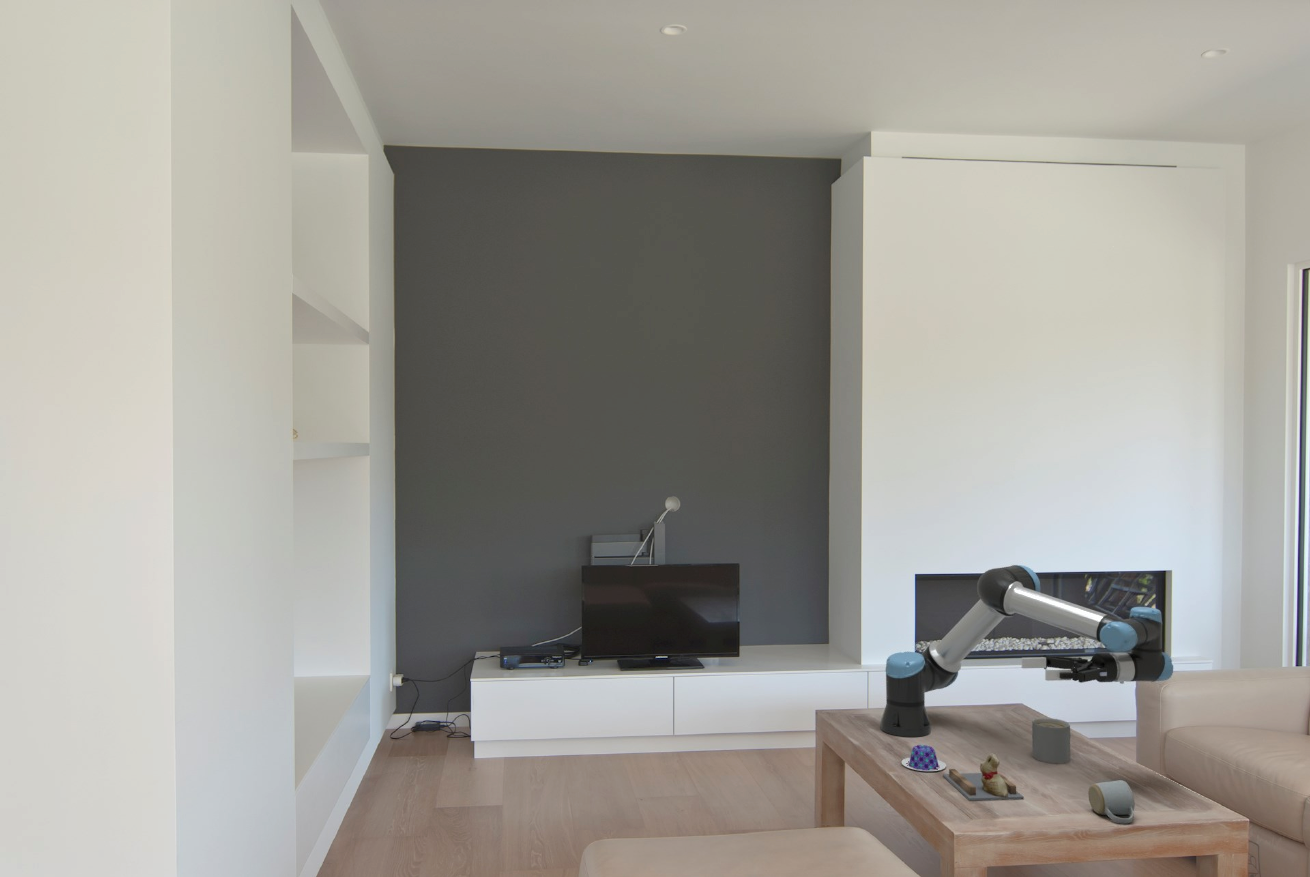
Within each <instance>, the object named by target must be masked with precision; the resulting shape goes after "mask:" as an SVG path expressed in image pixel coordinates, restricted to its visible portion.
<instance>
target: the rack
mask: <svg viewBox="0 0 1310 877" xmlns="http://www.w3.org/2000/svg"><path fill="white" fill-rule="evenodd" d="M997 773H998V775H999V776H1000V777H1002V779H1003V780H1004V781H1005V783H1006V786H1007V790H1008V793H1010V794H1016V791H1017V786H1016V784H1014V783H1013V782H1012V781H1011V780H1009V779H1008V778H1007V777H1006V776H1004V775H1003V774H1001V773H1000V772H999V771H998V770H997ZM948 774H949V777H950V778H951V779H953V780H954V781H955V782H956V783H957V784H958V785H959V786H960V787H961V788H963V789H964V790H965V791H966V792H967V793H968V794H969V795H976V787H975V786H974V785H973V784H972V783H970V782H969V781H968V780H967V779H966V778H965V777H963V776H962V775H961V773H960V772H959V771H958V770H957V769H955V768H949V769H948Z"/></svg>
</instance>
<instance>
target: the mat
mask: <svg viewBox="0 0 1310 877" xmlns="http://www.w3.org/2000/svg"><path fill="white" fill-rule="evenodd" d="M960 774H961V775H962V776H963V777H965V778H966V779H967V780H968V781H969V782H970V783H972V784H973V785H974V786H975V787H976V795H969V794H968V793H967V792H966V791H965V790H964V789H963V788H961V787H960V786H959V785H958V784H957V783H956V782H955V781H954V780H953V779H951V778H950V777H949V773H942V777H943V778H944V779H945V780H946V781H947V782H948V783H950V784H951V786H952V787H954V789H956V790H957V792H959V793H960V794H962V796H964V797H965V798H966V799H967V801H970V802H973V801H975V802H976V801H977V802H978V801H980V802H981V801H992V800H991V799H1014V800H1021V799H1020V798H1024V799H1025V797H1024V796H1023V795H1022V793H1020V792H1018V791H1017V790H1016V794H1010V793H1008V797H1000V796H995V795H992V794H989V793H987V792H985V791H984V790H983V789H982V786H983V783H982V780H981V778H982V772H969V773H968V772H967V773H966V772H965V773H960Z"/></svg>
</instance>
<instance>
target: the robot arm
mask: <svg viewBox="0 0 1310 877" xmlns="http://www.w3.org/2000/svg"><path fill="white" fill-rule="evenodd" d="M976 590H977V591H976V592H977V595H978V596H979V600H978V601H977V602H976V603H974V605H973V606H972V608H971V609H970V610H968V612H966V613H965V615H964V616H963V617H962V618H961V619H960V620H959V621H958V622H957V623H956V624H955V625H954V626H953V627H952V628H951V629H950V631H949V632H947V634H945V636H944V637H943V638H942V639H941V640H940V641H933V642H931V643H930V644H929V645H928V646H927V648H926V649H924V651H923V652H922V653H919V652H915V651H903V652H901V651H900V652H896V653H892V654H891V655H889V656H888V658H886V662H885V663H886V664H885V687H886V689H885V690H886V692H885V693H886V694H885V695H886V704H885V706H884V710H883V714H882V716H881V720H880V729H881V731H883V732H884V733H886V734H888V735H893V736H898V737H908V738H915V737H918V738H919V737H923V736H927V735H930V734H931V730H932V728H931V721H930V719H929V715H928V712H927V710H926V705H925V702H926V701H925V693H928V692H932V691H935V690H942V689H944V688H947V687H949V686H950V685H951V686H952V684H953V683H955V681H956V680H957V678H958V676H959V671H960V670H961V669H962V668H961V667H962V664H961V662H962V661H963V660H964V659H965V658H966V657H967V656H968V655H969V654H970V653H971V652H972V651H973V650H974V649H975V648H976V647H977V646H978V645H979V644H980V642H982V641H983V640H984V639H985V638H986V637H987V636H988V635H989V633H990V632H992V631H993V630H994V628H996V627H997V626H998V624H999V623H1000V622H1001V621H1002V620H1003V619H1004V618H1012V617H1014V616H1015V615H1016V614H1019V615H1022V616H1024V617H1027V618H1029V619H1033V620H1035V621H1038V622H1041V623H1045V624H1047V625H1049V626H1053V627H1054V628H1058V629H1061V630H1064V631H1067V632H1070V633H1073V634H1075V635H1078V636H1081V637H1084V638H1087V639H1088V640H1092V641H1095V642H1098V643H1100V644H1102V645H1103V646H1104V647H1105V649H1107V650H1109V651H1110V652H1109V653H1108V652H1105V653H1104V652H1099V653H1097V652H1096V653H1094V654H1093V655H1092V657H1091V658H1090V660H1089V659H1087V658H1082V657H1069V656H1057V655H1056V656H1055V655H1054V656H1053V655H1046V654H1044V655H1042V656H1041V657H1021V668H1022V669H1043V670H1045V675H1044V676H1045V678H1044V679H1045V681H1046V682H1047V681H1048V682H1049V681H1050V682H1051V681H1074V682H1077V681H1078V683H1080V684H1082V683H1087V682H1091V681H1097V682H1098V683H1113V682H1115V683H1117V682H1119V684H1121V685H1123V684H1125V682H1127V683H1128V682H1151V683H1155V682H1164V681H1168V680H1169V679H1170V678H1172V676H1173V673H1174V665H1173V663H1172V662H1173V660H1172V658H1171V656H1170V655H1169V654H1168V653H1167V652H1163V619H1162V618H1163V617H1162V612H1161V610H1160V609H1158V608H1154V607H1147V606H1134V607H1132V608H1131V609H1130V612H1129V617H1128V618H1126V619H1121V618H1118V617H1116V616H1115V617H1114V616H1112V615H1109V614H1105V613H1103V612H1100V611H1097V610H1093V609H1091V608H1088V607H1085V606H1081V605H1079V604H1076V603H1072V602H1069V601H1067V600H1064V599H1061V598H1057V597H1054V596H1051V595H1049V594H1045V593H1043V592H1041V581H1040V579H1039V577H1038V575H1037V573H1035V571H1034V570H1033V569H1032V568H1030V567H1029V566H1026V565H1018V564H1013V565H1012V564H1011V565H1010V566H1003V567H996V568H995V567H994V568H991V569H988V570H986V571H984V572H983V573H982V574H981V576H980V577H979V579H978V581H977V585H976ZM1128 651H1130V652H1128ZM1048 668H1049V669H1048ZM1051 668H1052V669H1051Z"/></svg>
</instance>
